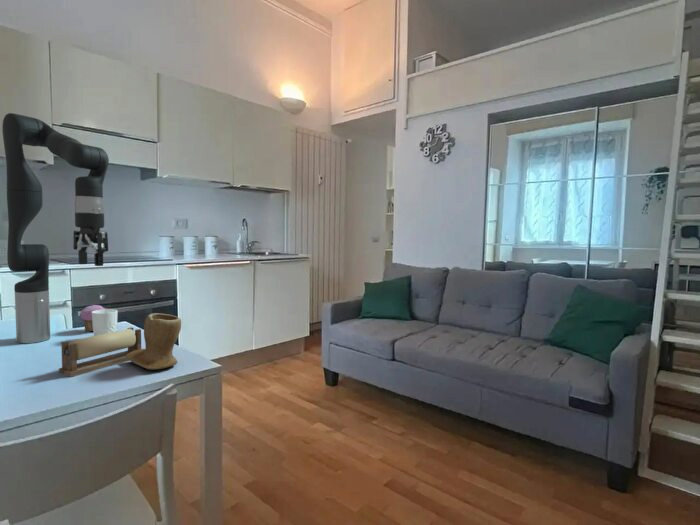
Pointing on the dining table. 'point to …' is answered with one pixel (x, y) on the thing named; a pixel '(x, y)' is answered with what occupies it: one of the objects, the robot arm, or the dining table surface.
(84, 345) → the cylinder
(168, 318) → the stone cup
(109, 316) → the white cup
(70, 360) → the roll stand
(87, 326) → the cupcake
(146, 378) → the dining table surface
